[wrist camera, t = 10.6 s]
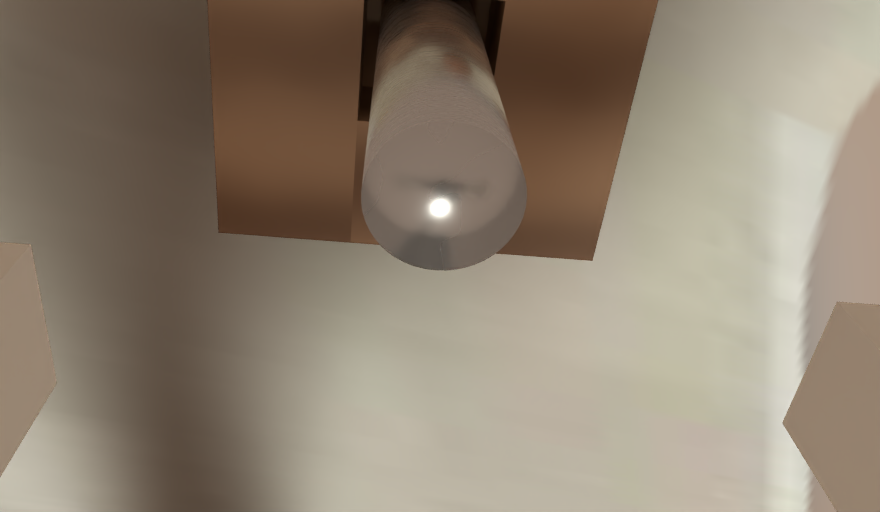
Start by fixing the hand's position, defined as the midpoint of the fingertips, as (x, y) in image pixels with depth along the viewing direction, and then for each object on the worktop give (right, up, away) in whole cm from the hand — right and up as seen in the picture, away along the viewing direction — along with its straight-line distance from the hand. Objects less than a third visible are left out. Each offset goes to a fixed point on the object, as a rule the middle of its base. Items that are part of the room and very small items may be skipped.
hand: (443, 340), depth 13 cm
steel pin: (-1, +10, +15) cm, 18 cm away
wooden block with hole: (-1, +10, +16) cm, 19 cm away
